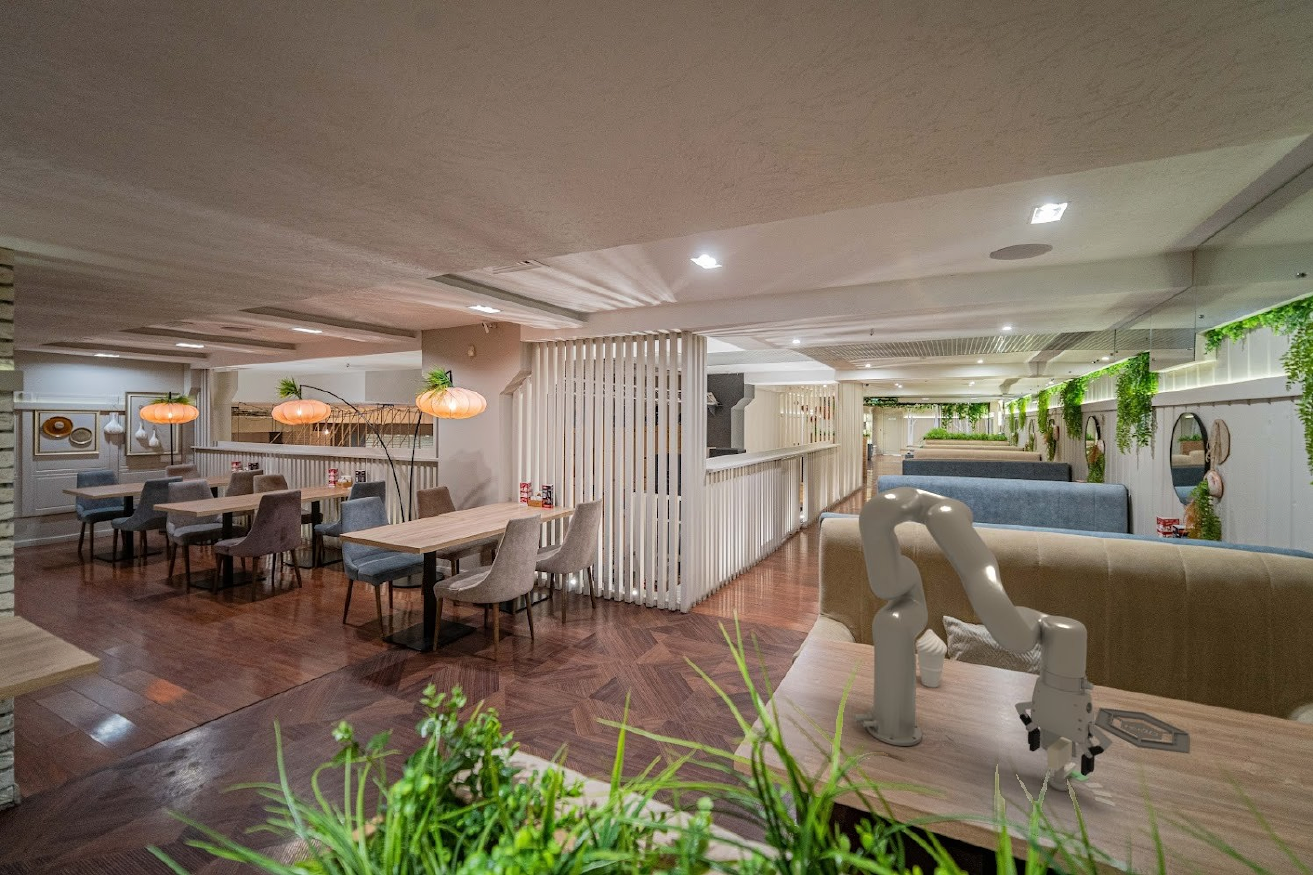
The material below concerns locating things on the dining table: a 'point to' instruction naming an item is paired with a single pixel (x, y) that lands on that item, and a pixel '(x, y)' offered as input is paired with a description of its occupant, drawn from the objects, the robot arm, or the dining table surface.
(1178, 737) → the grey hexagonal plate
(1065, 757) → the beige block on stand
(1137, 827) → the dining table surface
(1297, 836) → the dining table surface
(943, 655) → the soft serve ice cream cone
